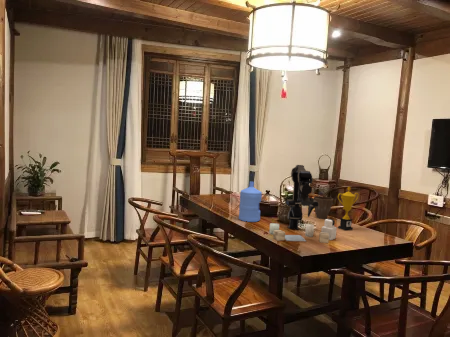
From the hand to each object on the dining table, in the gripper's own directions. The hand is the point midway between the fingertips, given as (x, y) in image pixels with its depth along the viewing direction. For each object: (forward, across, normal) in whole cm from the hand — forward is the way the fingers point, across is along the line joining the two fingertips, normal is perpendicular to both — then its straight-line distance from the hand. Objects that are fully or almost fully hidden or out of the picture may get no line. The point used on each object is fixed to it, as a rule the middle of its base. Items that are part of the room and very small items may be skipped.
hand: (301, 216), depth 229 cm
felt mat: (+13, -4, -1) cm, 14 cm away
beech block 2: (+13, +13, -7) cm, 20 cm away
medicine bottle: (+14, +19, +1) cm, 23 cm away
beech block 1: (+13, -14, -4) cm, 20 cm away
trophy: (+14, +42, +26) cm, 51 cm away
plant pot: (+15, +37, +59) cm, 71 cm away
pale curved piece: (+14, -14, +9) cm, 21 cm away
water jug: (+14, -23, +45) cm, 53 cm away
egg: (+14, +8, +5) cm, 17 cm away
